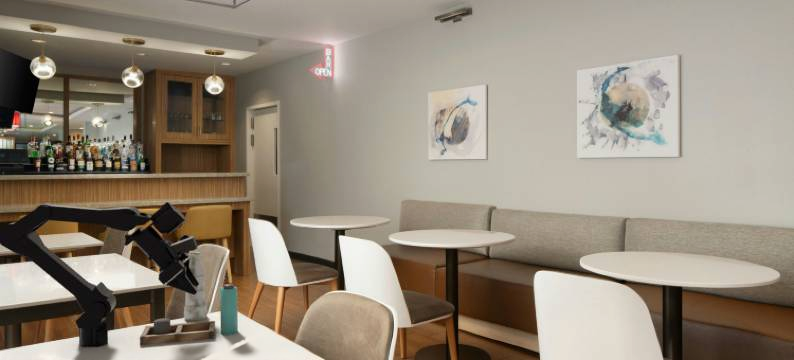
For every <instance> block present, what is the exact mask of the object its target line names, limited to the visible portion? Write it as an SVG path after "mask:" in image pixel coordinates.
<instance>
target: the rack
mask: <svg viewBox="0 0 794 360" xmlns="http://www.w3.org/2000/svg"><path fill="white" fill-rule="evenodd" d="M170 330H171V333H169V334H157V335H154V325H145V327H144V328H143V331H142V332H141V335H140V336H139V346H147V345H160V344H161V345H162V344H171V343H172V344H173V343H182V342H183V343H185V342H195V341H196V342H197V341H205V340H214V339H215V332H216V321H215V320H212V321H199V322H198V321H194V322H186V323H185V322H184V323H172V324H171V323H170Z"/></svg>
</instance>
